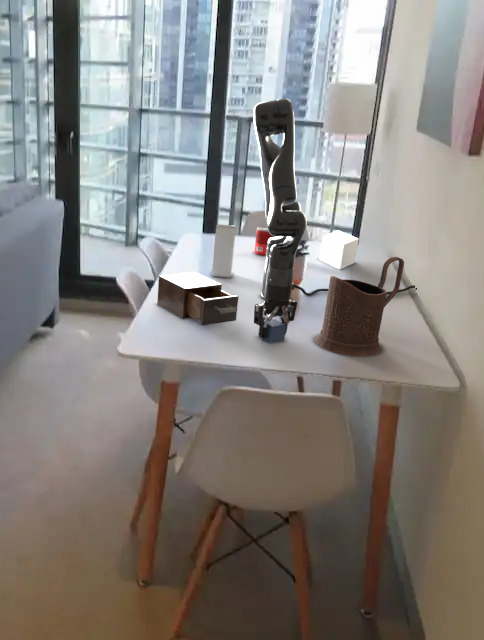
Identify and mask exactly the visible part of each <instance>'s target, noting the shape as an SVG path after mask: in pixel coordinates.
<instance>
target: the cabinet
mask: <svg viewBox="0 0 484 640" xmlns="http://www.w3.org/2000/svg"><path fill="white" fill-rule="evenodd" d="M222 287H223V284H222V283H220V282H217V281H216V280H213V279H211V278H209V277H207V276H205V275H202V274H200V273H198V272H195V271H193V272H192V271H190V272H189V271H188V272H181V273H170V274H161V275H158V286H157V303H156V304H157V306H159V307H161V308H163V309H164V310H166V311H168V312H170V313H171V314H173V315H175V316H176V317H178V318H180V319H182V320H185V319H193V318H192V317H191V316H189V315H187V314H185V313H186V300H187V291H193V290H201V289H210V288H218V289H220V290H222Z"/></svg>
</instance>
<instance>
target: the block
mask: <svg viewBox="0 0 484 640" xmlns="http://www.w3.org/2000/svg"><path fill="white" fill-rule="evenodd" d="M264 322H265V320H264ZM285 330H286V324H284V323H282V321H281V320H277V319H272V320H271V321H269V323H268V325H267V333H266V339H263V340H264V341H266V342H268V343H269V344H273V343H278V342H284V341H285V337H286V334H285Z"/></svg>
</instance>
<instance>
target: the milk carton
mask: <svg viewBox="0 0 484 640" xmlns="http://www.w3.org/2000/svg"><path fill="white" fill-rule="evenodd" d="M236 230H237V226H236V225H230V224H221V223H220V224H218V223H217V224H216V228H215V234H214V245H213V254H212V264H211V265H212V266H211V276H212V277H221V278H231V276H232V272H233V265H234V264H233V263H234V253H235V243H236V235H237V234H236V232H237V231H236Z"/></svg>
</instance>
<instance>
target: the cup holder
mask: <svg viewBox="0 0 484 640" xmlns="http://www.w3.org/2000/svg"><path fill="white" fill-rule="evenodd" d="M396 261H398V266H397V272H396V273H397V274H396V278H395V281H394V282H395V284H394V286H393V290H391V291H392V292H391V293H390V294H387V292H388V291H387V290H386V289H385V288H384V286H385V283H386V280H387V274H388V268H389V266H390V265H391V264H392V263H394V262H396ZM404 267H405V261H404V259H403V258H401V257H399V256H392V257H390V258H388V259H386V261H384V263H383V265H382V269H381V274H380V279H379V283H378V285H376V284H372V283H368V282H366V281H362V280H358V279H357V280H356V279H350V278H349V279H348V278H347V279H345V278H344V279H342V278H340V277H337V276H335V275H330V277H329V284H328V288H327V289H328V291H327V296H326V303H325V308H324V309H325V310H324V314H323V321H322V328H321V330H320V332H319V334H318V335H317V336H316V338H315V342H316V344H317V345H318V346H319V347H320V348H322V349H324V350H327V351H329V352H333V353H336V354H341V355H347V356H355V357H356V356H359V357H365V356H372V355H376V354H378V353H380V352H381V351H382V348H381V344H380V342H379V341H380V339H379V336H380V330H381V324H382V320H383V315H384V309H385V308H386V306H387V305H388V304H389V303H390V302H391V301H392V299H393V298H394V297H395V296H396V295H397V294H398V291H399V290H400V287H401V282H402V278H403V272H404Z"/></svg>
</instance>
